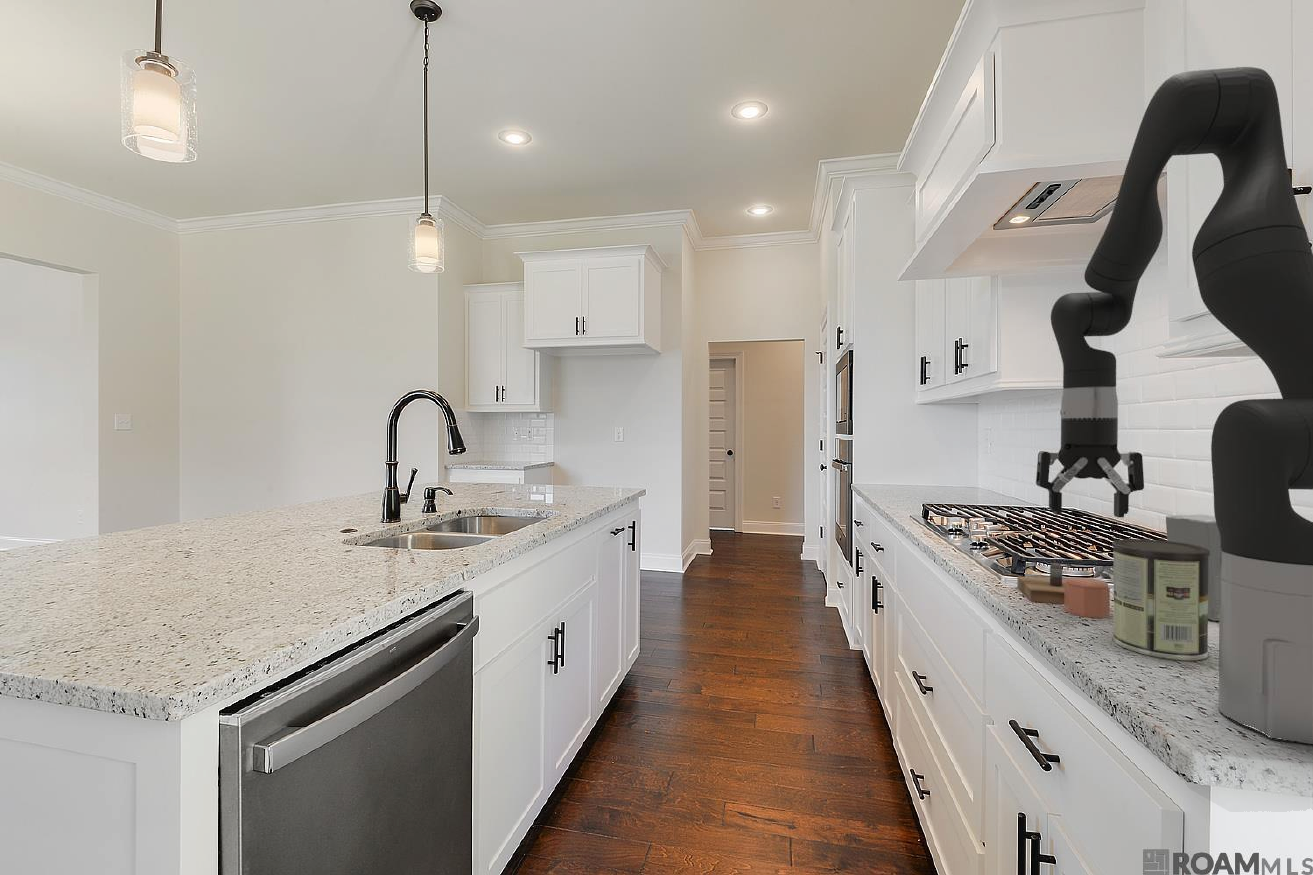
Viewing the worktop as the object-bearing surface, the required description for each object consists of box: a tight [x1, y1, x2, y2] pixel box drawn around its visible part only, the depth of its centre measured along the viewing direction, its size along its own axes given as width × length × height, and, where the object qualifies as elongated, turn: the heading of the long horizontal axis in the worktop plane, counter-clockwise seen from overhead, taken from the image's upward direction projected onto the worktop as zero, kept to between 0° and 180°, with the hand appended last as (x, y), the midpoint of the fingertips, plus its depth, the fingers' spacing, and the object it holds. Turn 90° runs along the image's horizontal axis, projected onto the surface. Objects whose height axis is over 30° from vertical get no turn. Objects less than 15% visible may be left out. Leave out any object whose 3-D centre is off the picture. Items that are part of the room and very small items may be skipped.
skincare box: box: [1165, 514, 1221, 622], centre depth 98 cm, size 8×7×16 cm
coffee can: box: [1111, 538, 1210, 662], centre depth 84 cm, size 10×10×14 cm
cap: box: [1063, 576, 1111, 619], centre depth 99 cm, size 6×6×5 cm
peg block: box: [1016, 562, 1066, 605], centre depth 108 cm, size 10×10×6 cm
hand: (1087, 515), depth 99 cm, fingers open, 8 cm apart
